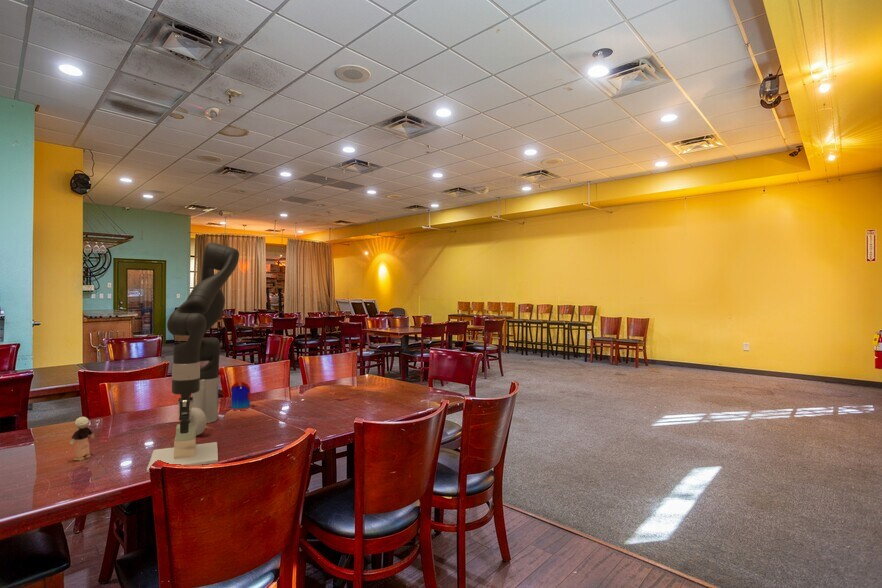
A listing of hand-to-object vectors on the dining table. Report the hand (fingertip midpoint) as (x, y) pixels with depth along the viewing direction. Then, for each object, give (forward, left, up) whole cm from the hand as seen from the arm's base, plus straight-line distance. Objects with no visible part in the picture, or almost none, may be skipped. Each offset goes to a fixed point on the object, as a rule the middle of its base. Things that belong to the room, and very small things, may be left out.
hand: (185, 429), depth 136 cm
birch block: (0, 0, -8) cm, 8 cm away
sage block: (0, 0, -3) cm, 3 cm away
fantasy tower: (-58, +19, -9) cm, 62 cm away
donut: (-23, +2, -9) cm, 25 cm away
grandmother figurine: (-12, -28, -9) cm, 32 cm away
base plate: (0, 0, -9) cm, 9 cm away
